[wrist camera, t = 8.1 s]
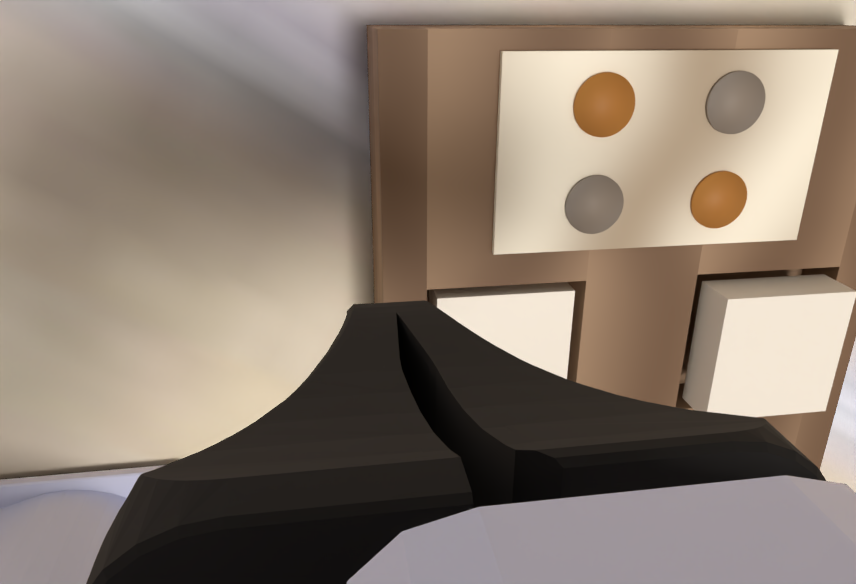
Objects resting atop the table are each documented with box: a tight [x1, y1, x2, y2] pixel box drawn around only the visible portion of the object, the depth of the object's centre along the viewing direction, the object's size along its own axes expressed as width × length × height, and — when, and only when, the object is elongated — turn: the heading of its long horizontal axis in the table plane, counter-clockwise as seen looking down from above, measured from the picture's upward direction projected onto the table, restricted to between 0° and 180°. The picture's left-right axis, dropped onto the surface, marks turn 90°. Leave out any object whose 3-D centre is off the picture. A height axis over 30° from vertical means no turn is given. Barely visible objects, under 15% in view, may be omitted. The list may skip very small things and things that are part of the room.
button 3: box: [429, 282, 575, 379], centre depth 21 cm, size 4×4×1 cm
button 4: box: [682, 274, 856, 417], centre depth 21 cm, size 4×4×1 cm
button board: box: [367, 25, 856, 470], centre depth 23 cm, size 15×24×4 cm, turn 0°
